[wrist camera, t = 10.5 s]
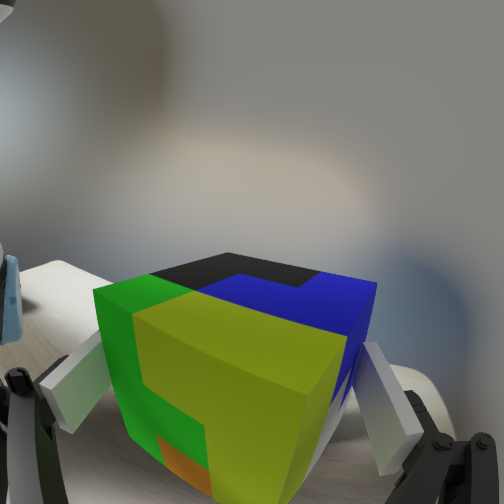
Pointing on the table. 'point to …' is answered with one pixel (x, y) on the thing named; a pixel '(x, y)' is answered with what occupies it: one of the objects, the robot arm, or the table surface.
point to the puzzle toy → (234, 369)
